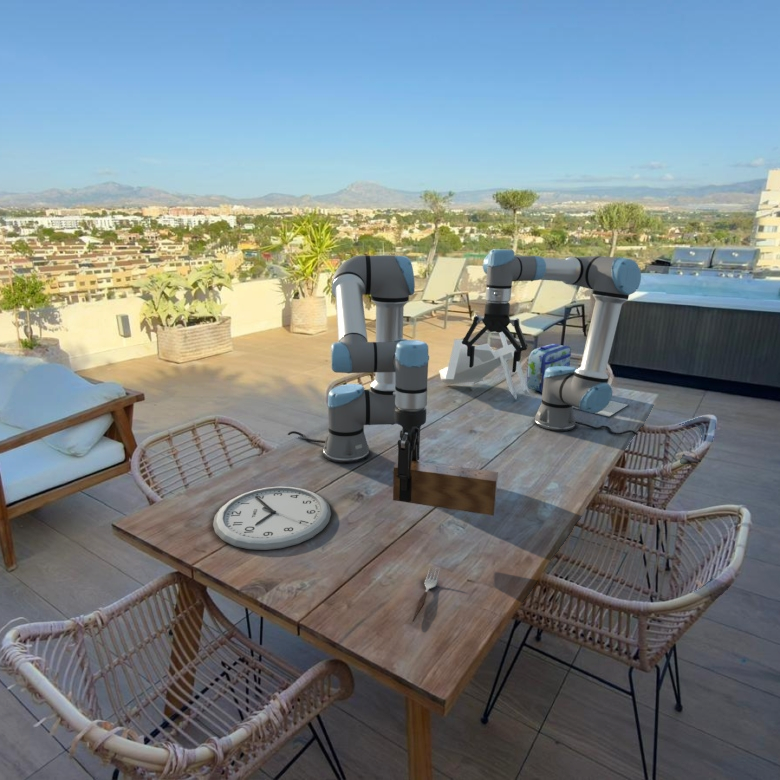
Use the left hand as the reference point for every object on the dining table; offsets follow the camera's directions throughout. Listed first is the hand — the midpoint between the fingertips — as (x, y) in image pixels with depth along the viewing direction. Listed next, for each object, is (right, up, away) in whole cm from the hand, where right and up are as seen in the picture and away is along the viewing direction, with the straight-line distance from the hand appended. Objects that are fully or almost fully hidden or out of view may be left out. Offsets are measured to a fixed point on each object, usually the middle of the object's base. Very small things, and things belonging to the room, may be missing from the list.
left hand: (408, 494), depth 130 cm
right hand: (+28, +33, +36) cm, 56 cm away
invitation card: (+87, +19, +96) cm, 131 cm away
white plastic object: (+37, +25, +113) cm, 122 cm away
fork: (+3, -17, -22) cm, 28 cm away
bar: (+9, -1, -2) cm, 9 cm away
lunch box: (+71, +27, +121) cm, 143 cm away
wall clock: (-35, -7, +7) cm, 36 cm away
